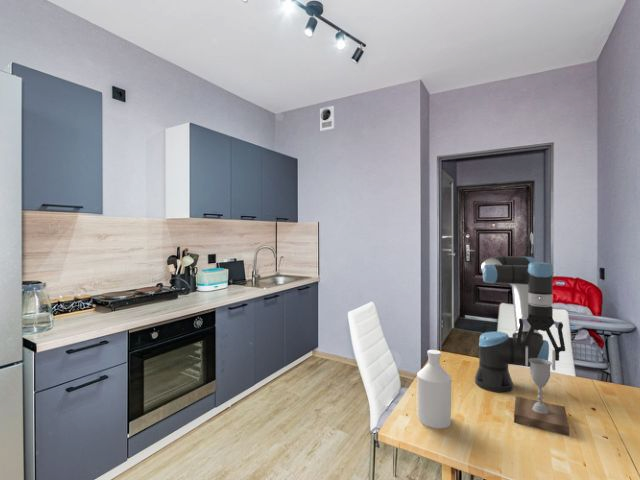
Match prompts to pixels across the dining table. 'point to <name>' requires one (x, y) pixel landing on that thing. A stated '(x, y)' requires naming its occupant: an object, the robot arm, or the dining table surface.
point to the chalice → (540, 380)
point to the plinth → (541, 416)
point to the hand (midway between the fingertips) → (540, 366)
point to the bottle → (434, 393)
